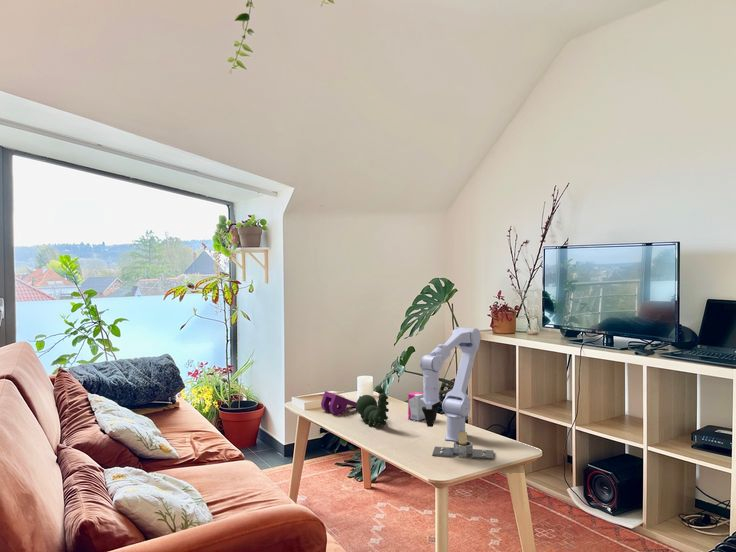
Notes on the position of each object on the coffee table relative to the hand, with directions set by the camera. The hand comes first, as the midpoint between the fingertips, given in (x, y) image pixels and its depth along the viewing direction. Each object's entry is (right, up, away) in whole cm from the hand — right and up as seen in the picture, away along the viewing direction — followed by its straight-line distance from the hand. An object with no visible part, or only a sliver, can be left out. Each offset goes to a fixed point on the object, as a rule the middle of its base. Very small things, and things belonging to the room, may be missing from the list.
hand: (431, 423), depth 212 cm
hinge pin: (+11, -10, -6) cm, 16 cm away
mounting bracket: (-35, -9, +54) cm, 66 cm away
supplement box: (-2, -8, +39) cm, 40 cm away
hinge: (+11, -10, -6) cm, 16 cm away
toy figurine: (-22, -9, +34) cm, 41 cm away
